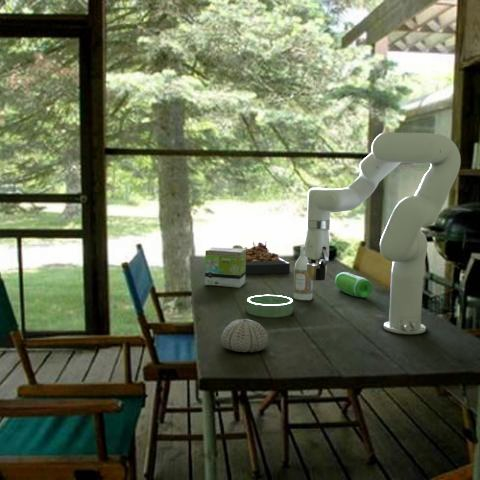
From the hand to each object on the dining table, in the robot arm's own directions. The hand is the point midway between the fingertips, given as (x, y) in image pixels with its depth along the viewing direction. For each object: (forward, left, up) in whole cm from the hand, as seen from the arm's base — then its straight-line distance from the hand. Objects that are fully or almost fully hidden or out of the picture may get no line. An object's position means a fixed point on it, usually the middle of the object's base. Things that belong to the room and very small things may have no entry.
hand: (316, 277), depth 210 cm
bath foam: (+20, +3, -12) cm, 24 cm away
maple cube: (0, 0, 0) cm, 0 cm away
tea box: (+45, +33, -12) cm, 57 cm away
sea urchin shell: (-42, +24, -12) cm, 50 cm away
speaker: (+30, -17, -12) cm, 37 cm away
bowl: (-2, +16, -12) cm, 20 cm away
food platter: (+92, +22, -12) cm, 95 cm away
